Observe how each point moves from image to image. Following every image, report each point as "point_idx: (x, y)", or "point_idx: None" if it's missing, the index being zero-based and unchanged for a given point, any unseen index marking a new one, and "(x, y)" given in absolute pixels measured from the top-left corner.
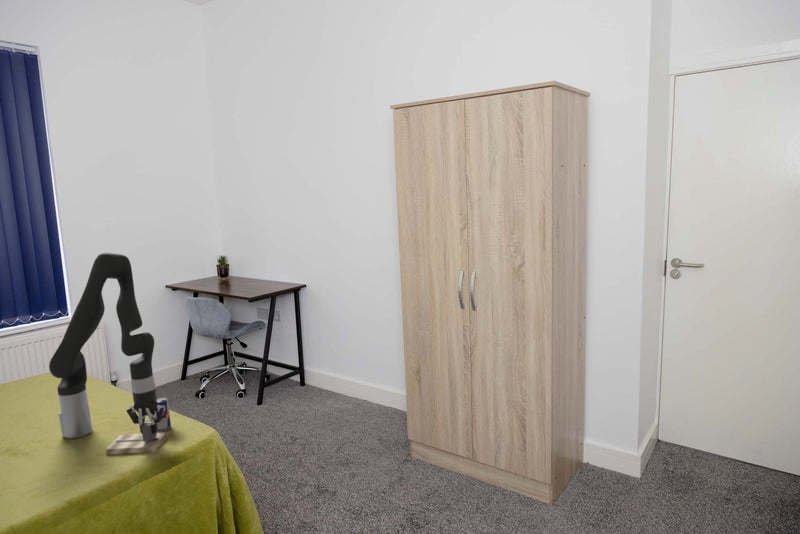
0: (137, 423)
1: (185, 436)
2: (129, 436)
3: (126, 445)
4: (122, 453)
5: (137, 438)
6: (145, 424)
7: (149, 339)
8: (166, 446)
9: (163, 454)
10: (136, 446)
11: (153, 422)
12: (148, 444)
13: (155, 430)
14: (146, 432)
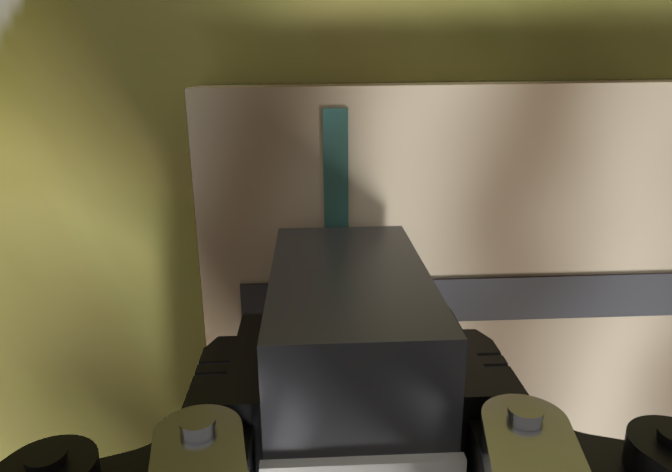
0: (605, 441)
1: (10, 447)
2: (664, 407)
3: (619, 167)
4: (616, 80)
5: (538, 351)
6: (397, 412)
7: None
8: (115, 226)
9: (33, 5)
10: (459, 124)
11: (177, 438)
12: (302, 168)
13: (214, 353)
14: (348, 279)
